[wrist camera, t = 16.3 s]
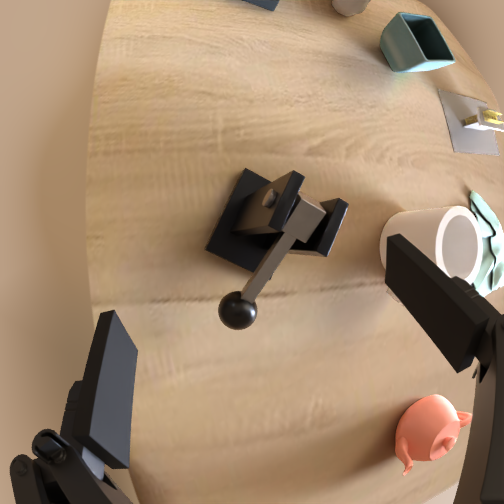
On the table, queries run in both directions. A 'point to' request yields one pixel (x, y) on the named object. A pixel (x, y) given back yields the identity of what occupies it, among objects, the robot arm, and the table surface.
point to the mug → (440, 239)
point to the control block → (265, 3)
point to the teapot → (428, 430)
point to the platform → (471, 124)
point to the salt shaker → (350, 6)
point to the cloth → (488, 248)
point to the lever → (271, 262)
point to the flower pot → (414, 44)
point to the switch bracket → (268, 220)
